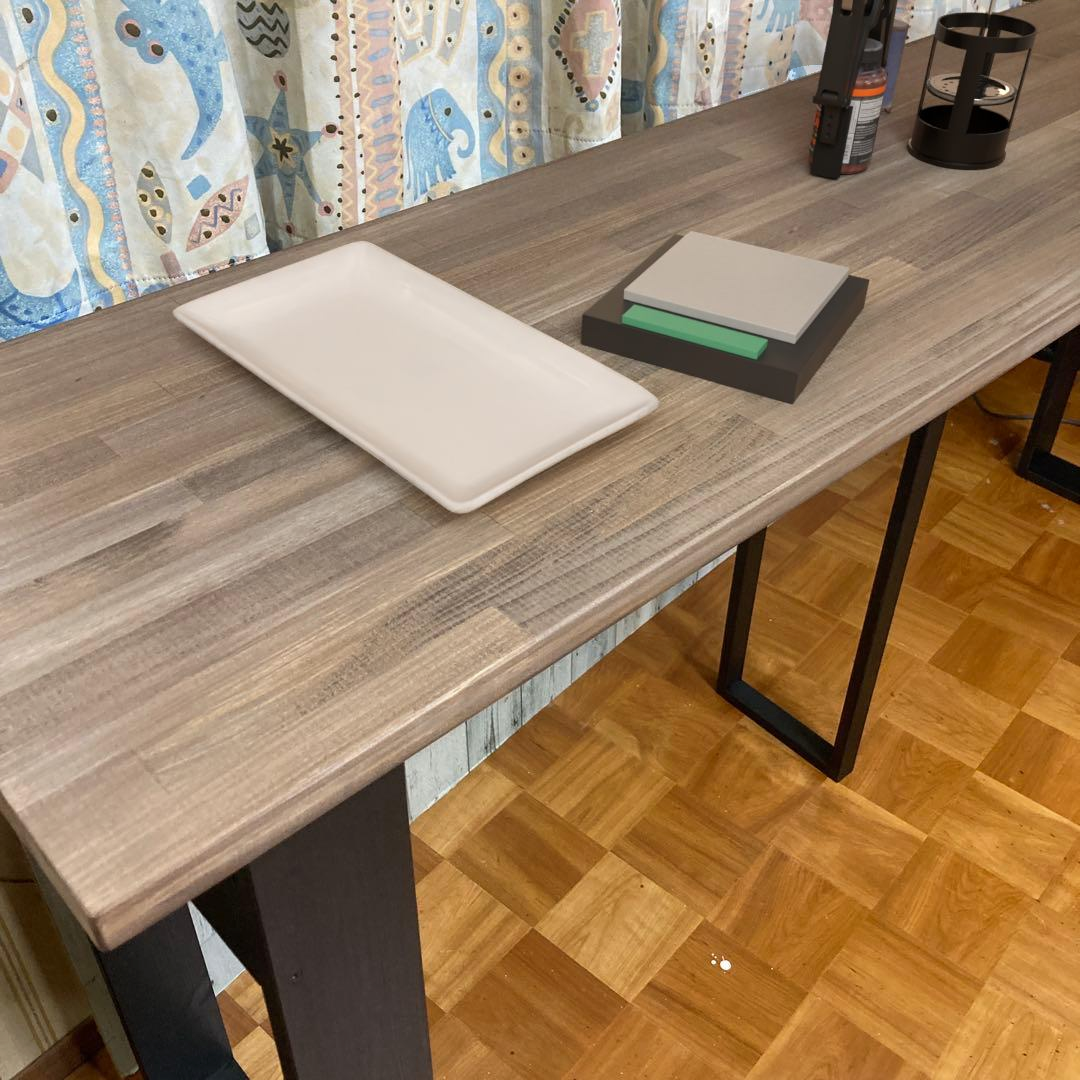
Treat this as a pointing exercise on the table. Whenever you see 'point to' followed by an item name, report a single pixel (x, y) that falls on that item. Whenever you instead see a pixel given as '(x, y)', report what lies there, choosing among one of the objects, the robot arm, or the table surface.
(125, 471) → the table surface
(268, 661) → the table surface
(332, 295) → the tray
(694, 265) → the scale
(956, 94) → the french press
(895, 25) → the flask
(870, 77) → the supplement bottle
